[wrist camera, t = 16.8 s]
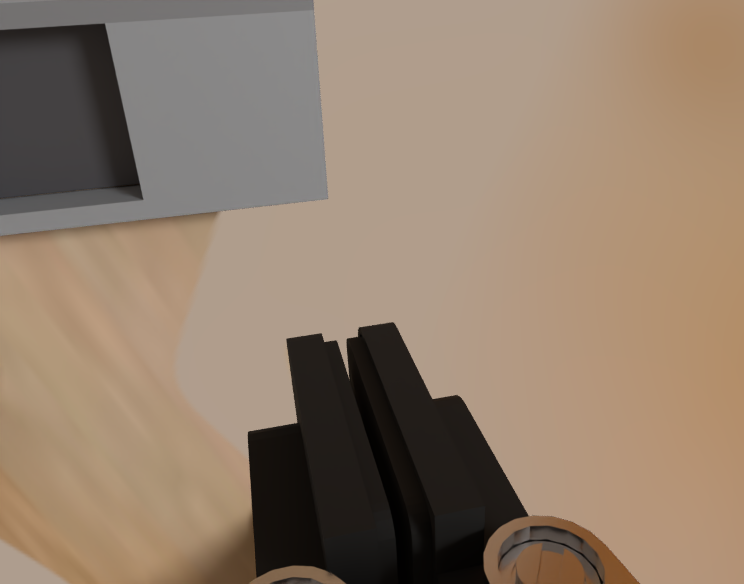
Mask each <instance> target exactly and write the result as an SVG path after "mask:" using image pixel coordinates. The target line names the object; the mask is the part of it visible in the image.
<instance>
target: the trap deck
mask: <svg viewBox="0 0 744 584" xmlns="http://www.w3.org/2000/svg"><path fill="white" fill-rule="evenodd" d="M320 97H321V96H320V83H319V71H318V56H317V43H316V31H315V16H314V3H313V0H0V198H4V199H0V236H3V235H12V234H20V233H29V232H38V231H47V230H56V229H65V228H74V227H83V226H92V225H101V224H110V223H119V222H128V221H137V220H145V219H154V218H163V217H172V216H181V215H190V214H199V213H208V212H217V211H226V210H234V209H244V208H251V207H261V206H270V205H279V204H288V203H297V202H306V201H315V200H324V199H328V190H327V176H326V164H325V151H324V137H323V123H322V110H321V98H320ZM133 184H139V185H133ZM123 185H130V186H123ZM113 186H120V187H113ZM104 187H110V188H104ZM94 188H101V189H94ZM84 189H91V190H84ZM75 190H81V191H75ZM65 191H72V192H65ZM55 192H62V193H55ZM45 193H52V194H45ZM36 194H43V195H36ZM26 195H33V196H26ZM16 196H23V197H16ZM7 197H14V198H7Z"/></svg>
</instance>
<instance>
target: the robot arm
mask: <svg viewBox="0 0 744 584" xmlns="http://www.w3.org/2000/svg"><path fill="white" fill-rule="evenodd" d="M287 348H288V356H289V363H290V371H291V378H292V385H293V393H294V400H295V408H296V415H297V422H298V423H296V424H289V425H283V426H278V427H273V428H267V429H261V430H255V431H249V432H248V448H249V464H250V480H251V496H252V512H253V527H254V543H255V559H256V575H257V578H256V579H254V580H252V581H251V582H250V583H249V584H640V583H639V582H638V581H637V580H636V579H635V577H634V576H633V575H632V574H631V573H630V572H629V571H628V569H627V568H626V567H625V566H624V565H623V564H622V563H621V561H620V560H619V559H618V558H617V557H616V556H615V555H614V554H613V552H612V551H611V550H610V549H609V548H608V547H607V546H606V545H605V544H604V543H603V542H602V541H601V540H600V539H599V538H597V537H596V536H595V535H594V534H593V533H592V532H590V531H589V530H587V529H585V528H583V527H581V526H579V525H577V524H575V523H574V522H571V521H568V520H564V519H560V518H557V517H553V516H528V514H527V512H526V510H525V509H524V507H523V505H522V503H521V502H520V500H519V499H518V496H517V495H516V493H515V491H514V489H513V488H512V486H511V484H510V482H509V480H508V479H507V477H506V475H505V473H504V472H503V470H502V468H501V466H500V465H499V463H498V461H497V460H496V457H495V456H494V454H493V452H492V450H491V449H490V447H489V445H488V443H487V441H486V440H485V438H484V436H483V434H482V433H481V431H480V429H479V427H478V426H477V424H476V422H475V420H474V419H473V417H472V415H471V413H470V412H469V410H468V408H467V406H466V404H465V403H464V401H463V400H462V398H461V397H459V396H457V395H455V396H449V397H443V398H438V399H432V398H431V396H430V394H429V392H428V389H427V388H426V385H425V383H424V381H423V379H422V378H421V375H420V374H419V371H418V369H417V367H416V365H415V363H414V361H413V359H412V357H411V355H410V353H409V351H408V349H407V347H406V345H405V343H404V341H403V339H402V337H401V335H400V333H399V331H398V329H397V327H396V325H395V324H394V323H393V322H392V323H386V324H379V325H372V326H366V327H360V328H359V329H358V337H354V338H348V339H347V355H348V367H349V377H348V374H347V371H346V368H345V365H344V362H343V359H342V355H341V352H340V349H339V346H338V343H337V341H329V342H324V340H323V336H322V334H314V335H308V336H301V337H294V338H288V339H287ZM349 379H350V381H349Z"/></svg>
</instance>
